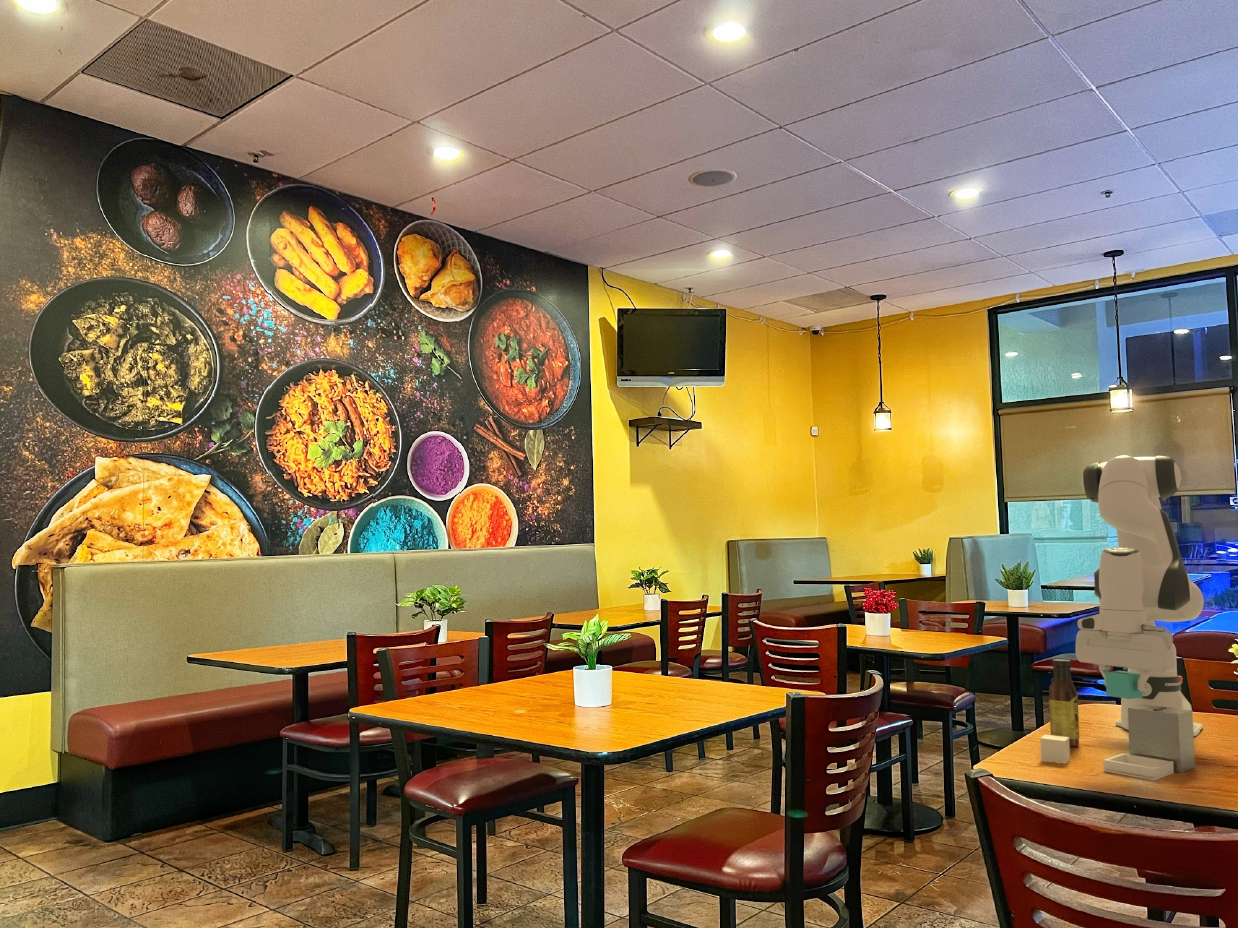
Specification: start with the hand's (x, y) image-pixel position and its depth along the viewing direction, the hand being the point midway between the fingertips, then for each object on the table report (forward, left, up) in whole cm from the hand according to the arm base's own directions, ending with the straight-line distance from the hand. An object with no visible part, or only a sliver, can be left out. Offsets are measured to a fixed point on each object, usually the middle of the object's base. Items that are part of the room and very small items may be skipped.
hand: (1124, 688), depth 200 cm
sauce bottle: (-15, -20, -17) cm, 30 cm away
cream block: (+3, -14, -17) cm, 22 cm away
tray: (0, +2, -17) cm, 17 cm away
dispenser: (-10, +3, -17) cm, 20 cm away
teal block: (0, 0, -2) cm, 2 cm away
